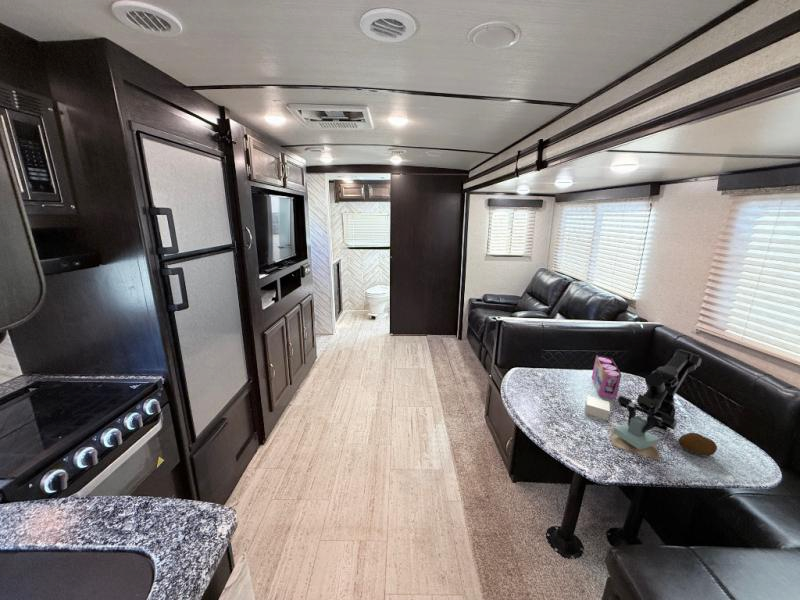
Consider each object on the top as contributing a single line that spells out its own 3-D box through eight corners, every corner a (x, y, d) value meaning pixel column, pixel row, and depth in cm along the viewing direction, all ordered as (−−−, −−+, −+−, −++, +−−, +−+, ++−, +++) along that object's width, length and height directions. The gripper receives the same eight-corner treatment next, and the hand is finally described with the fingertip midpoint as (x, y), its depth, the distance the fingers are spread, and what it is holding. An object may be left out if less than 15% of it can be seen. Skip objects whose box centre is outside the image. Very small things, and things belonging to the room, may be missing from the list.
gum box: (617, 400, 156) (623, 376, 152) (599, 396, 159) (604, 372, 155) (607, 379, 177) (612, 357, 174) (591, 376, 180) (595, 354, 177)
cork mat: (653, 439, 128) (654, 438, 128) (659, 461, 116) (660, 460, 116) (610, 425, 136) (610, 424, 136) (611, 445, 123) (612, 444, 123)
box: (607, 410, 147) (609, 401, 146) (607, 420, 140) (609, 411, 139) (585, 404, 152) (587, 395, 150) (584, 413, 144) (586, 404, 143)
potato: (720, 461, 117) (726, 443, 116) (686, 459, 118) (692, 441, 116) (701, 446, 125) (707, 429, 123) (669, 444, 126) (674, 427, 124)
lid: (630, 427, 132) (634, 409, 130) (657, 444, 122) (663, 425, 120) (612, 432, 128) (617, 414, 126) (639, 450, 119) (645, 430, 117)
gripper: (624, 377, 130) (606, 408, 127) (681, 399, 115) (662, 435, 112) (629, 389, 136) (611, 419, 133) (683, 412, 121) (665, 446, 118)
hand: (635, 429), depth 124 cm, fingers closed on lid, 5 cm apart
